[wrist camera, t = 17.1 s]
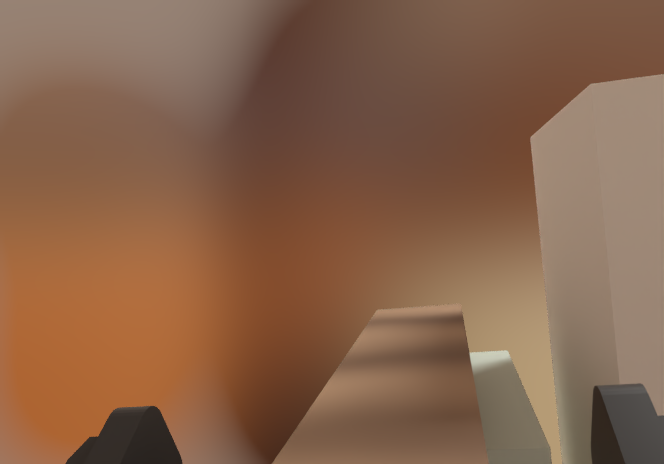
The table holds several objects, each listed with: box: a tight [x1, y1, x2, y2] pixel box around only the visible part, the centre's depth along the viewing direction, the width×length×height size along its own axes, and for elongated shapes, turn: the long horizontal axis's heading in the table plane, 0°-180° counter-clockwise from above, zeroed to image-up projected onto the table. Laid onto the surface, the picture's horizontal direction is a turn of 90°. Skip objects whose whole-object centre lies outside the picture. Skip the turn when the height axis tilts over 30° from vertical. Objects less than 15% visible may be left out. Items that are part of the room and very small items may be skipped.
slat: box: [272, 304, 489, 464], centre depth 20 cm, size 20×4×2 cm, turn 170°
